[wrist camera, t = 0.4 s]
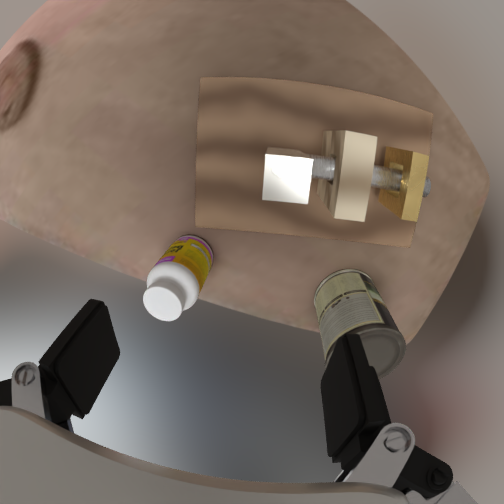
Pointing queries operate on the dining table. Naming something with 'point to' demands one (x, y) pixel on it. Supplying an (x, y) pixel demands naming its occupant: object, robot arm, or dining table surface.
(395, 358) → the coffee can
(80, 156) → the dining table surface
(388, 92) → the dining table surface
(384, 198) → the frame
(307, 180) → the crank handle
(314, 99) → the bearing stand
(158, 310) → the supplement bottle
